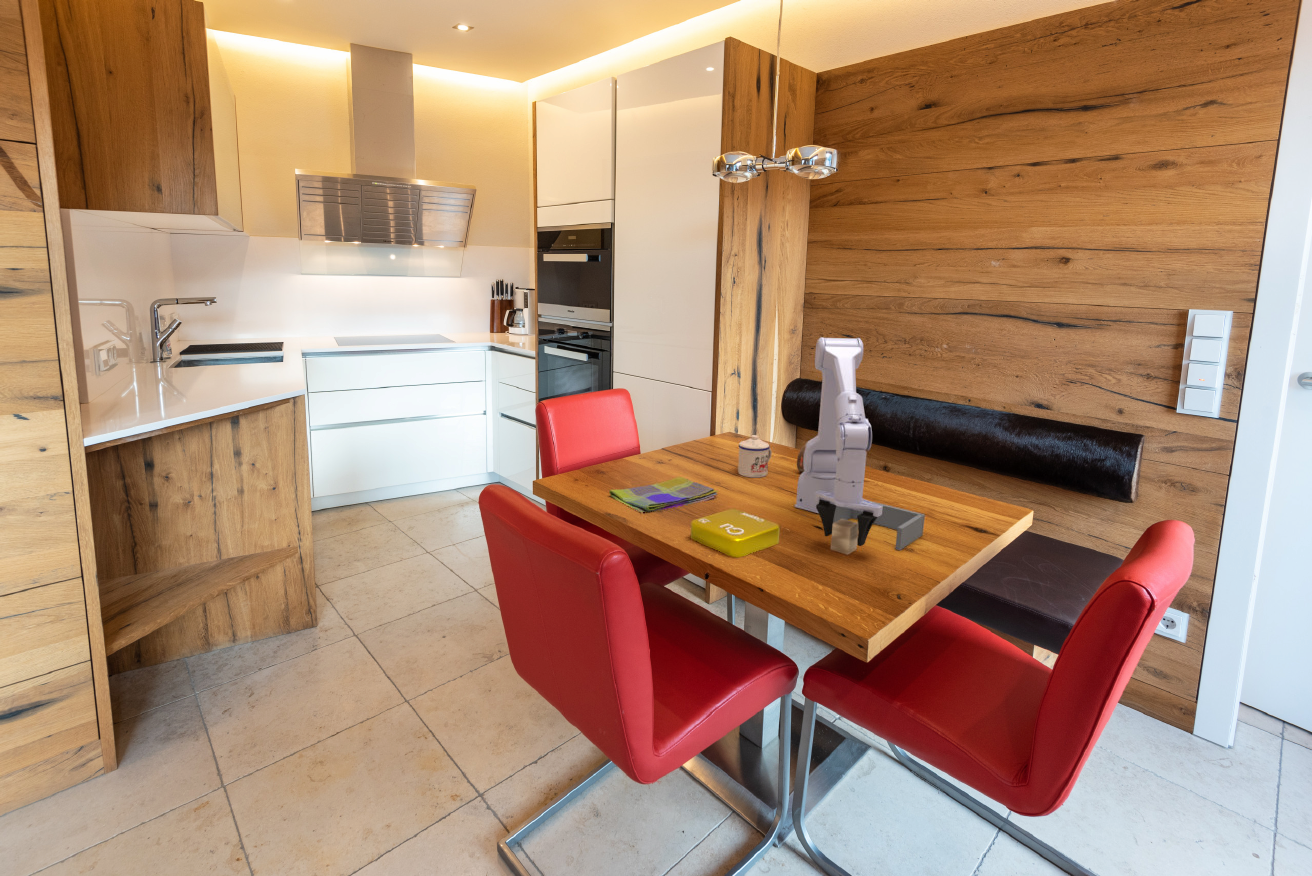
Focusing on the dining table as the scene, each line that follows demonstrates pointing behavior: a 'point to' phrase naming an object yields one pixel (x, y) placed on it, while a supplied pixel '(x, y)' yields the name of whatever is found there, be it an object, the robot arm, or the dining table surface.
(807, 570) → the dining table surface
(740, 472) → the teacup with lid
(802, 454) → the tin
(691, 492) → the dish towel
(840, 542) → the birch block
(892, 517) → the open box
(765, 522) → the element tile
